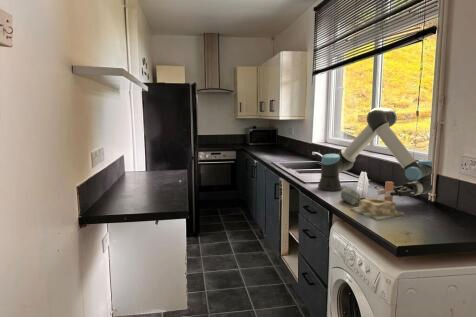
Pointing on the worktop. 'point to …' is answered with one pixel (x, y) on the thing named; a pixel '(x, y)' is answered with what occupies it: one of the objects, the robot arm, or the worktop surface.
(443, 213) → the worktop surface
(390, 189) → the peg
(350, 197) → the green striped ellipsoid
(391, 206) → the socket
